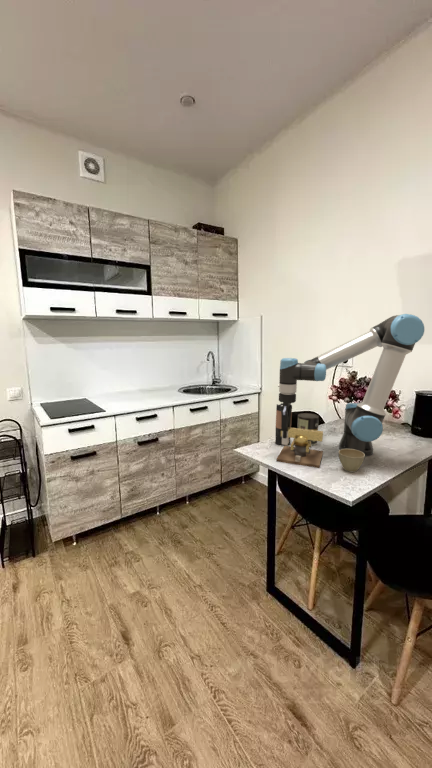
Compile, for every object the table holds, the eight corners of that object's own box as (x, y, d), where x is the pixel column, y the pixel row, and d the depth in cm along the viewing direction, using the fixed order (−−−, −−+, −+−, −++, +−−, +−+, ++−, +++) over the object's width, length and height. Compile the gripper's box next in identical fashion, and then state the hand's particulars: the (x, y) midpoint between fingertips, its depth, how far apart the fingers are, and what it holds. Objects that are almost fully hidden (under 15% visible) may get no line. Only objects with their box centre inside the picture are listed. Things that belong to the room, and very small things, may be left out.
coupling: (322, 448, 149) (323, 429, 148) (320, 454, 142) (322, 434, 141) (282, 442, 156) (283, 424, 155) (279, 448, 149) (279, 429, 147)
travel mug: (290, 446, 163) (292, 407, 160) (274, 445, 165) (276, 406, 161) (290, 441, 170) (292, 403, 167) (275, 440, 172) (276, 402, 169)
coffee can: (317, 440, 173) (319, 414, 171) (316, 446, 163) (318, 419, 161) (297, 438, 176) (298, 412, 174) (295, 444, 167) (296, 417, 164)
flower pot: (338, 463, 144) (339, 447, 143) (363, 466, 140) (364, 450, 139) (336, 472, 135) (338, 455, 133) (363, 476, 131) (365, 459, 130)
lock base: (322, 453, 155) (323, 441, 154) (319, 468, 138) (319, 454, 137) (284, 447, 161) (284, 436, 160) (276, 461, 145) (276, 448, 144)
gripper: (282, 389, 156) (280, 437, 160) (275, 395, 142) (273, 447, 146) (298, 390, 153) (296, 439, 157) (293, 396, 139) (290, 450, 143)
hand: (285, 443), depth 151 cm, fingers closed on coupling, 2 cm apart
